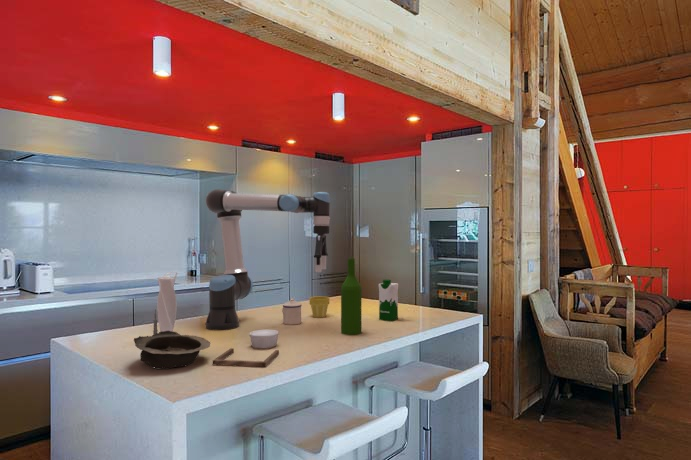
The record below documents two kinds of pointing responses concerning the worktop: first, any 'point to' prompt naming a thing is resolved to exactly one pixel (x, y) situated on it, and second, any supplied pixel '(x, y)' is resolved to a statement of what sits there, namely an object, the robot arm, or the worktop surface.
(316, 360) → the worktop surface
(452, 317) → the worktop surface
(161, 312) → the skyscraper
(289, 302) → the teacup with lid
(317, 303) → the plant pot
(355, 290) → the wine bottle
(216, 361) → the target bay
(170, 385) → the worktop surface
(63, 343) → the worktop surface
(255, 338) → the ramekin
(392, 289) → the milk carton
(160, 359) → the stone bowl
